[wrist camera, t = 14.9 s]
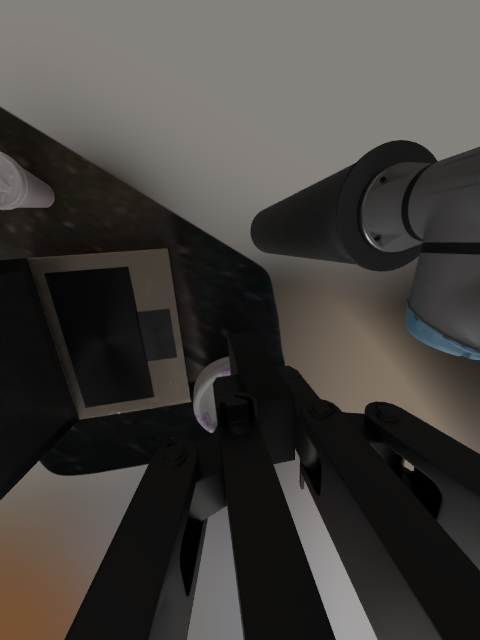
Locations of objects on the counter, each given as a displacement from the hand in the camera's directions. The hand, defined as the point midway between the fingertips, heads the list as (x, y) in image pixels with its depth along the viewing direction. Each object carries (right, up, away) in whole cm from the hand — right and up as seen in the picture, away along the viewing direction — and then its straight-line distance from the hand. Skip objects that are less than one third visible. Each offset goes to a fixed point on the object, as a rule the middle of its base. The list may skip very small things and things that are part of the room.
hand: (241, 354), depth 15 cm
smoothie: (-30, +21, +23) cm, 43 cm away
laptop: (-22, -1, +31) cm, 38 cm away
